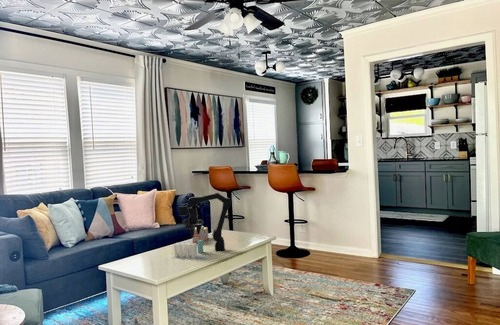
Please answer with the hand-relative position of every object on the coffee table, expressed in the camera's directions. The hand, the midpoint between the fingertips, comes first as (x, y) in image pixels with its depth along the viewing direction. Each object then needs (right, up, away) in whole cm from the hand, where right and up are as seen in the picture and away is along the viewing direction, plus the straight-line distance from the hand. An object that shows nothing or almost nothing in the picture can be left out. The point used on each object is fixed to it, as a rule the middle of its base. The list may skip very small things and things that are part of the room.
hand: (195, 235), depth 278 cm
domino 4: (+1, -12, -12) cm, 17 cm away
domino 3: (-3, -13, -10) cm, 17 cm away
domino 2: (-7, -13, -9) cm, 17 cm away
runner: (-1, -13, -11) cm, 17 cm away
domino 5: (+4, -12, -1) cm, 13 cm away
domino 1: (-12, -13, -7) cm, 19 cm away
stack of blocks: (-1, -12, +38) cm, 40 cm away
